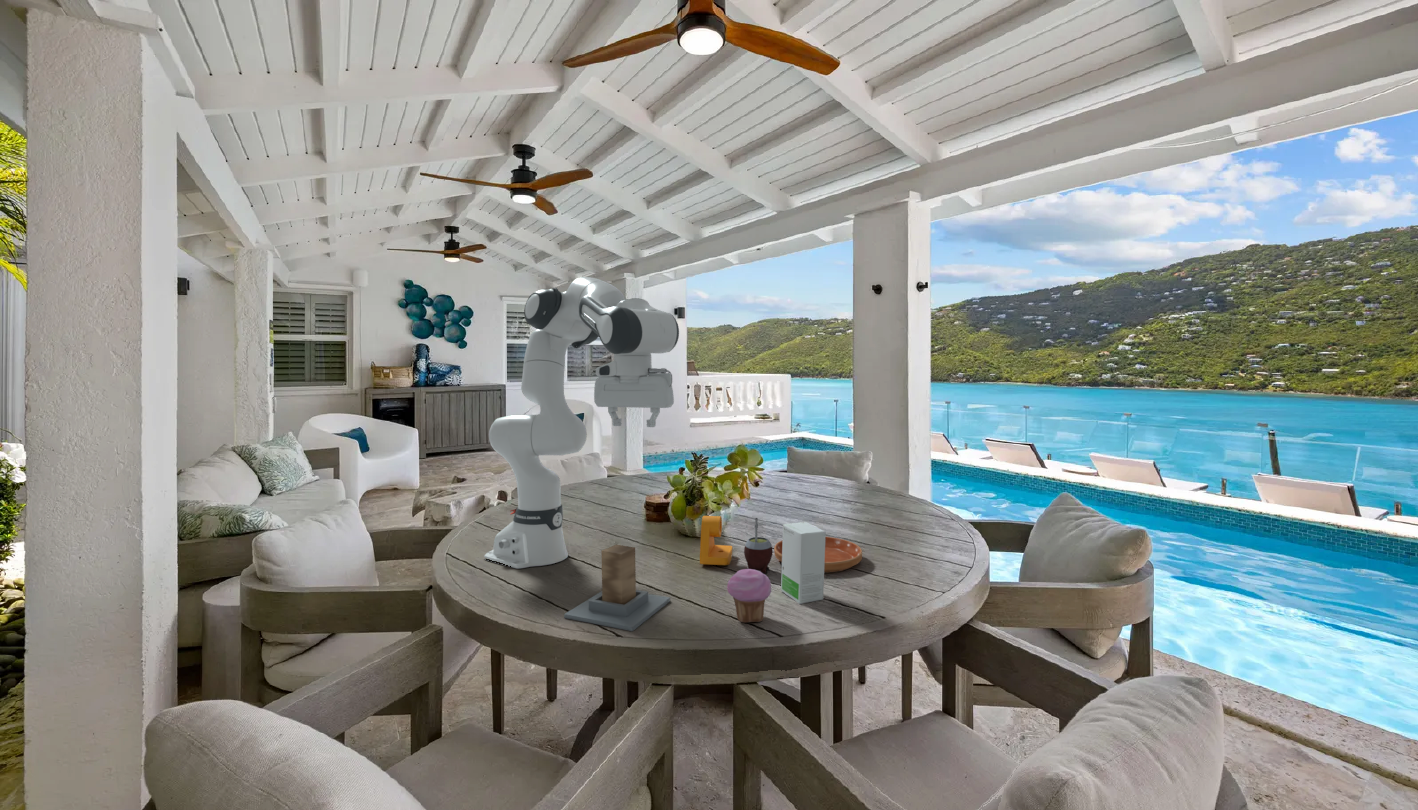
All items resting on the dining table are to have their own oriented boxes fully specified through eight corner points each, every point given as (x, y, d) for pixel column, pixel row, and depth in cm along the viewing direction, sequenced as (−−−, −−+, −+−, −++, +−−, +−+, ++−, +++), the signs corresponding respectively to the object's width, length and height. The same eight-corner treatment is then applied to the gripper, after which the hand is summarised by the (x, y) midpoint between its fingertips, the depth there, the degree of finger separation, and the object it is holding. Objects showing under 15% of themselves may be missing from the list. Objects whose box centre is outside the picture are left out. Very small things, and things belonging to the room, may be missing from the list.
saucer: (845, 582, 136) (845, 567, 136) (759, 566, 148) (759, 552, 148) (872, 556, 155) (873, 543, 155) (794, 544, 167) (794, 531, 167)
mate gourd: (760, 564, 148) (760, 507, 148) (780, 573, 142) (780, 513, 141) (737, 570, 144) (737, 511, 144) (756, 579, 138) (756, 518, 137)
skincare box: (780, 591, 130) (780, 523, 129) (805, 587, 133) (805, 520, 132) (800, 605, 122) (800, 533, 122) (826, 600, 125) (826, 529, 124)
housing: (564, 617, 117) (564, 604, 116) (608, 590, 131) (607, 578, 131) (632, 631, 110) (632, 617, 110) (670, 601, 125) (670, 588, 125)
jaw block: (602, 607, 120) (601, 550, 119) (617, 598, 124) (616, 544, 123) (621, 611, 117) (620, 554, 117) (636, 603, 122) (635, 547, 121)
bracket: (727, 568, 146) (727, 522, 145) (699, 567, 147) (699, 521, 147) (732, 555, 157) (732, 512, 156) (706, 554, 158) (706, 511, 157)
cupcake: (730, 629, 111) (730, 578, 110) (725, 611, 119) (724, 563, 119) (775, 627, 112) (775, 576, 111) (767, 609, 120) (766, 562, 120)
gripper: (678, 368, 135) (678, 426, 136) (604, 369, 143) (605, 424, 144) (665, 367, 129) (666, 428, 130) (589, 369, 137) (591, 426, 138)
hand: (633, 426), depth 137 cm, fingers open, 8 cm apart
